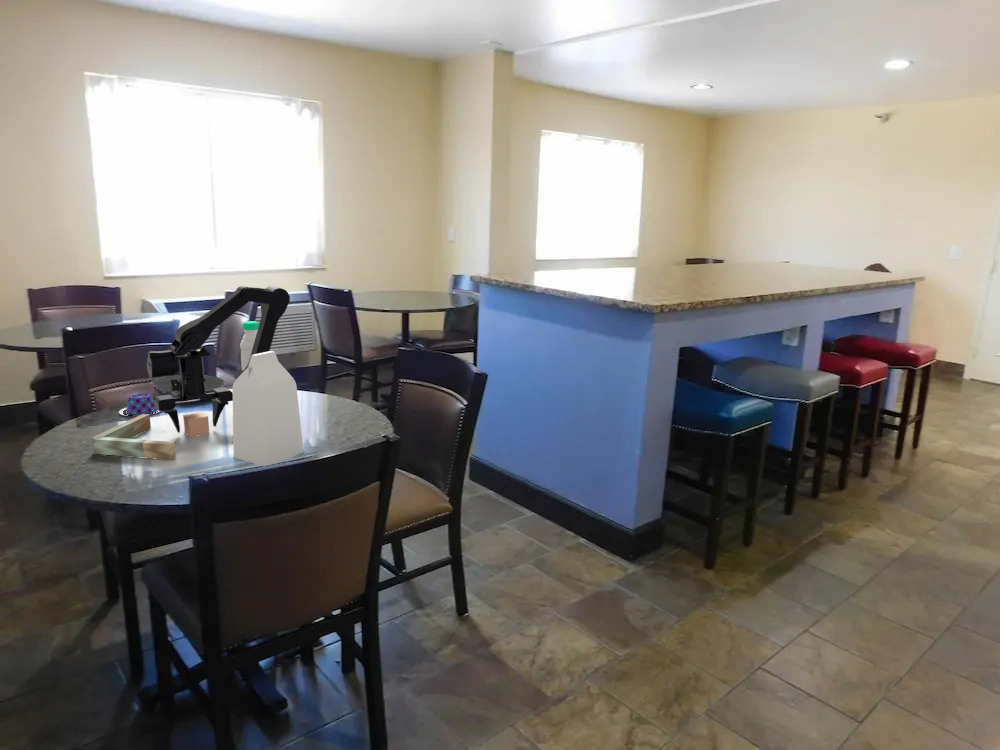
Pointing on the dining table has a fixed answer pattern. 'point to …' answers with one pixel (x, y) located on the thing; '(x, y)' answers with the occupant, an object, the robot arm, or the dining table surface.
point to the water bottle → (248, 341)
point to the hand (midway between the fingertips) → (196, 429)
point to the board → (163, 383)
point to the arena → (132, 441)
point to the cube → (196, 424)
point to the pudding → (140, 404)
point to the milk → (266, 412)
